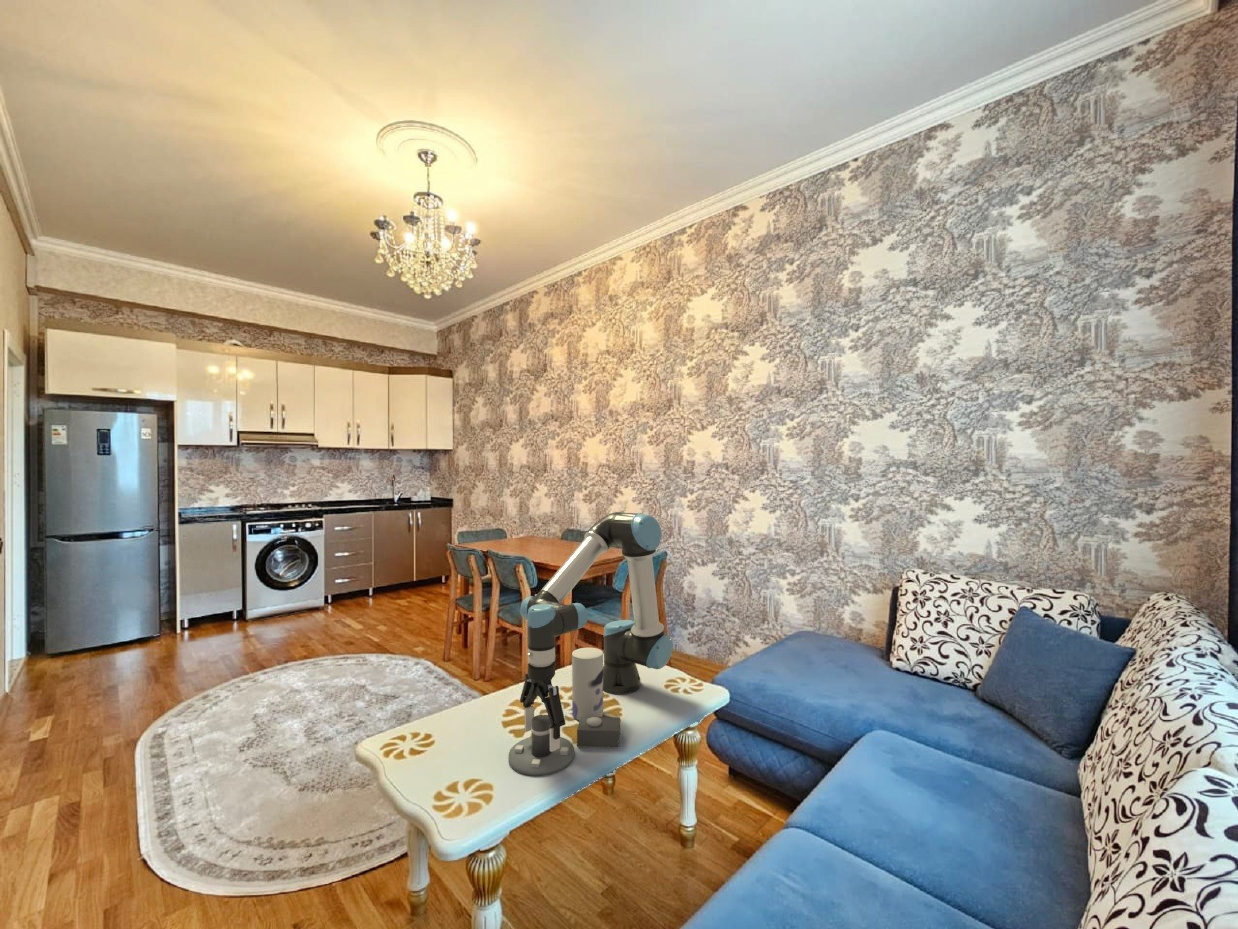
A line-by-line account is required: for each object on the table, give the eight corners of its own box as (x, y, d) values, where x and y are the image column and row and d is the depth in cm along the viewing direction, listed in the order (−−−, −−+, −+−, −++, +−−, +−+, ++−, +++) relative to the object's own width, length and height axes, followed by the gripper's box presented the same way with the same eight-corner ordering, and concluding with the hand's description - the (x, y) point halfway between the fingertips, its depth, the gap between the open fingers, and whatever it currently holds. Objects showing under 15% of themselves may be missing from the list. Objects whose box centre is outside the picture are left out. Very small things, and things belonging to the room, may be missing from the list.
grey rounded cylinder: (545, 744, 144) (545, 712, 144) (556, 752, 140) (556, 720, 140) (527, 751, 141) (527, 718, 141) (538, 760, 136) (538, 726, 136)
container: (599, 723, 158) (598, 659, 159) (568, 720, 160) (568, 657, 161) (606, 708, 168) (606, 648, 168) (577, 706, 170) (577, 646, 170)
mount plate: (551, 732, 153) (551, 725, 153) (587, 758, 139) (587, 750, 139) (496, 754, 142) (496, 746, 142) (529, 784, 128) (529, 776, 128)
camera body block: (620, 734, 153) (620, 714, 153) (618, 748, 145) (618, 728, 145) (580, 733, 153) (580, 713, 153) (577, 747, 145) (576, 727, 145)
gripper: (507, 653, 148) (508, 726, 148) (554, 679, 129) (554, 764, 129) (530, 647, 153) (530, 718, 152) (578, 672, 134) (578, 753, 133)
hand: (541, 739), depth 140 cm, fingers open, 13 cm apart
